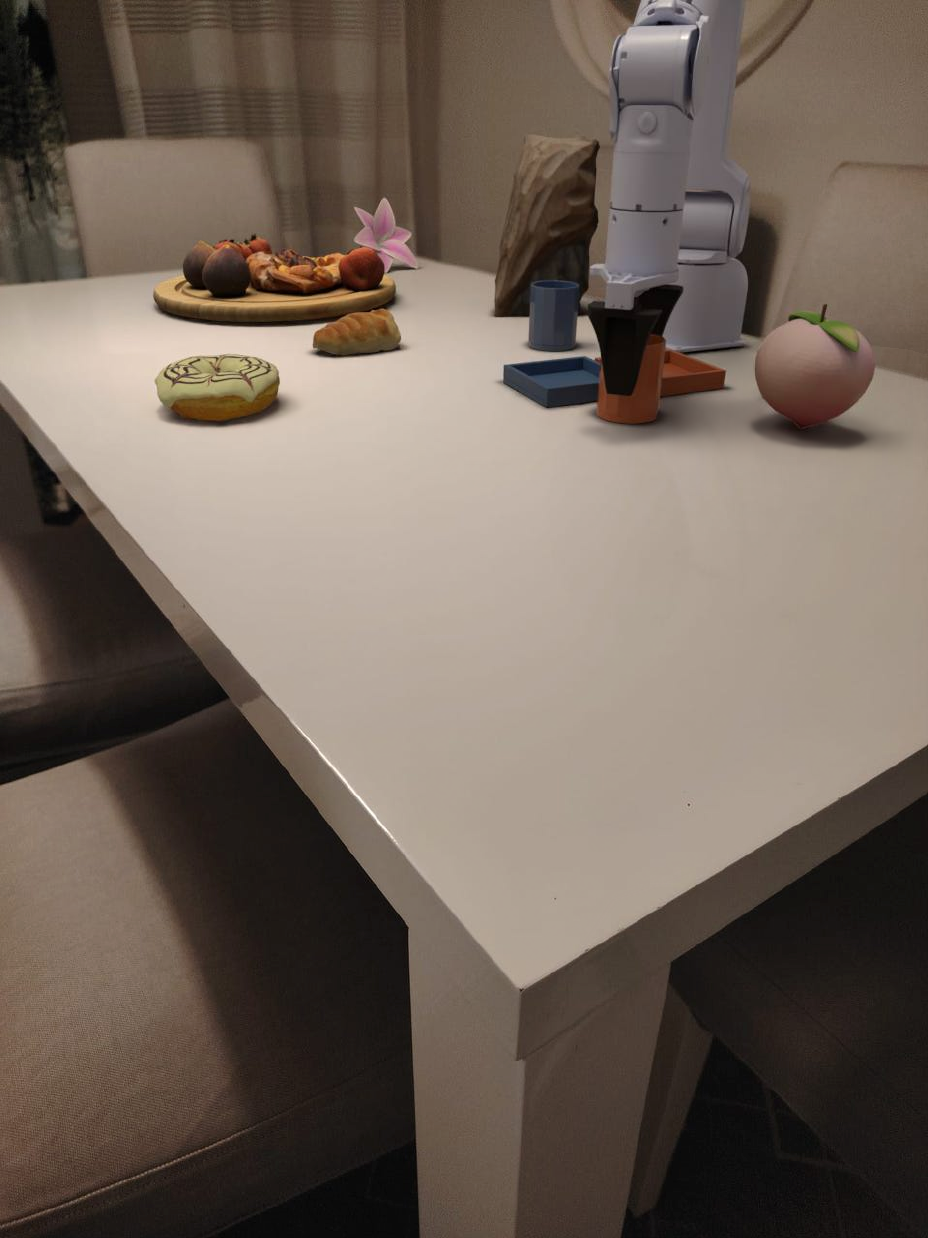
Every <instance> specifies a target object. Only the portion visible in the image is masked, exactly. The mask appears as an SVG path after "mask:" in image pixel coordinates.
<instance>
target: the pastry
mask: <svg viewBox="0 0 928 1238" xmlns="http://www.w3.org/2000/svg"><path fill="white" fill-rule="evenodd" d="M401 341H402V334H401V332H400V329H399V326H398V324H397V322H396V321H395V317H394V315H393V314H392V313H391V312H390V311H389V310H387V309H384V308H379V309H376V310H374V309H371V311H369V312H368V311H367V312H365V311H363V312H356V313H351V314H345V315H343V316H341V317H340V318H339V319H337V320H336V321H334V322H333V321H332V322H329V323H326V325H325V326H323V327H321V328H320V329H318V330H316V331H315V332H314V335H313V337H312V348H313V349H317V350H321V351H323V352H326V353H329V354H334V355H335V356H339V355H341V356H347V355H360V354H364V353H366V354H372V353H378V352H380V351H384V352H389V351H392V350H395V349H397V348H399V344H400V343H401Z"/></svg>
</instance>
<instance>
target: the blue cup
mask: <svg viewBox="0 0 928 1238" xmlns="http://www.w3.org/2000/svg"><path fill="white" fill-rule="evenodd" d="M578 299H579V284H578V283H575V282H570V281H562V280H544V281H535V282H533V283H531V284H530V310H529V316H528V343H527V345H528V347H529V348H531V349H534V350H538V351H545V352H564V351H569V350H572V349H574V348H576V341H577V328H578V315H577V314H578Z"/></svg>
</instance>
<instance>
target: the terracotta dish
mask: <svg viewBox="0 0 928 1238" xmlns="http://www.w3.org/2000/svg"><path fill="white" fill-rule="evenodd" d="M600 358H601V356H598V357H594V360H595V361H597V362H599V363H600ZM726 375H727V370H726V369H724V368H721V367H718V366H717V365H713V364H711V363H709V362H705V361H702V360H700V359H698V358H695V357H692V356H690V355H687V354H684V353H683V352H682V353H679V352H677V351H674V350H671V349H670V350H665V357H664V365H663V374H662V383H661V392H660V397H667V396H674V395H675V396H676V395H682V394H689V393H696V392H704V391H712V390H713V391H714V390H720V389H724V388H725V381H726Z"/></svg>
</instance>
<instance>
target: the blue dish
mask: <svg viewBox="0 0 928 1238" xmlns="http://www.w3.org/2000/svg"><path fill="white" fill-rule="evenodd" d="M599 371H600V363H599V362H597V361H595V359H592V358H590V357H588V356H586V355H581V356H573V357H563V358H554V359H553V358H552V359H544V360H536V361H529V362H528V361H527V362H526V361H525V362H517V363H516V362H515V363H509V364H503V372H502V374H503V376H502V377H503V378H502V382H503V383H504V384H505V385H507V386H509V387H511V388H512V389H514V390H516V391H518V392H519V393H520V394H523V395H524V396H526V397H528V398H529V399H530V400H533V401H535V402H536V403H538V404H540V405H542V406H543V407H545V408H553V407H561V406H569V405H578V404H585V403H591V402H592V403H593V402H597V396H598V383H599Z"/></svg>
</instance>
